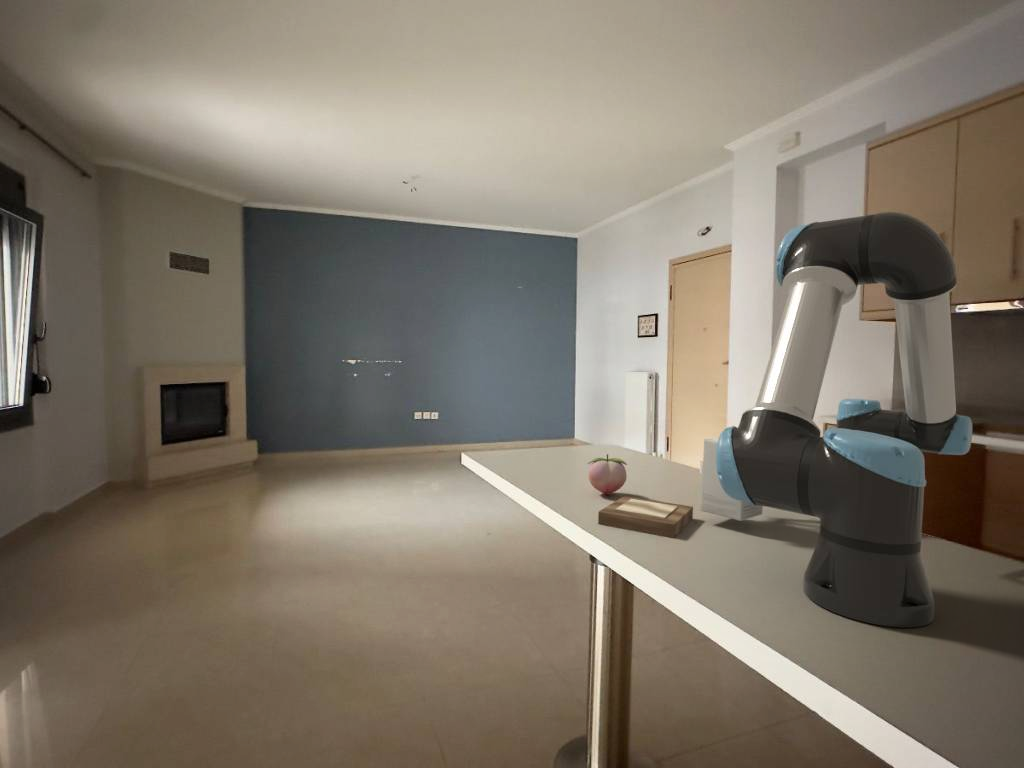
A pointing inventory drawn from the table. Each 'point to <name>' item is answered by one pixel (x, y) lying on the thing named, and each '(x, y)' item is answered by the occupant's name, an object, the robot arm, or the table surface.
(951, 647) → the table surface
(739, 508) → the supplement box
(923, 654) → the table surface
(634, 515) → the block
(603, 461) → the decorative fruit
